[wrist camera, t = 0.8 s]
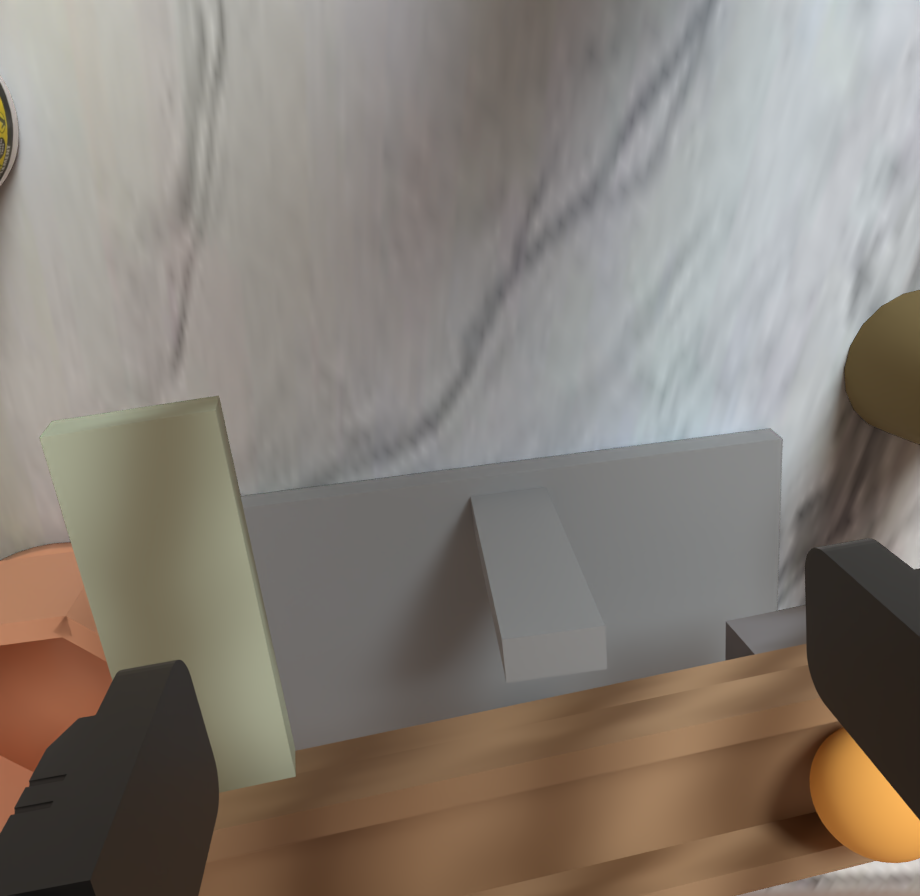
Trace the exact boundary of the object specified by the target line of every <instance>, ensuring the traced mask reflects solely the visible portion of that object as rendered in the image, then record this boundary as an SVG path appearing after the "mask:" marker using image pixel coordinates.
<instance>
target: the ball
mask: <svg viewBox="0 0 920 896" xmlns="http://www.w3.org/2000/svg"><path fill="white" fill-rule="evenodd" d="M810 792H811V797H812V801H813V804H814V807H815V809H816V812H817V814H818V816H819V817H820V819H821V821H822V823H823V824H824V825H825V827H826V828H827V830H828V831H829V832H830V833H831V834H832V835H833V836H834V837H835V838H836V839H837V840H838V841H839V842H840V843H842V844H843V845H844V846H846V847H847V848H849V849H850V850H852V851H853V852H855V853H857V854H859V855H861V856H863V857H866V858H869V859H872V860H875V861H880V862H888V863H901V862H908V861H912V860H916V859H919V858H920V820H919V819H918V818H917V816H916V815H915V814H914V813H913V812H912V810H911V809H910V808H909V807H908V805H907V804H906V803H905V802H904V801H903V799H902V798H901V797H900V796H899V794H898V793H897V792H896V791H895V790H894V788H893V787H892V786H891V785H890V783H889V782H888V781H887V780H886V779H885V777H884V776H883V775H882V774H881V772H880V771H879V770H878V769H877V768H876V766H875V765H874V764H873V763H872V761H871V760H870V759H869V758H868V757H867V755H866V754H865V753H864V752H863V751H862V749H861V748H860V747H859V746H858V744H857V743H856V742H855V741H854V740H853V738H852V737H851V736H850V735H849V733H848V732H847V731H846V730H845V729H844V727H842V728H840V729H838V730H837V731H835V732H834V733H833V734H831V735H830V736H829V737H828V738H827V739H826V740H825V741H824V742H823V743H822V744H821V746H820V747H819V749H818V750H817V752H816V754H815V756H814V759H813V761H812V765H811V770H810Z"/></svg>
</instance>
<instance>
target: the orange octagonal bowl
mask: <svg viewBox="0 0 920 896" xmlns="http://www.w3.org/2000/svg"><path fill="white" fill-rule="evenodd" d="M111 683H112V678H111V674H110V671H109V668H108V664H107V661H106V658H105V654H104V651H103V648H102V644H101V641H100V638H99V634H98V631H97V628H96V624H95V621H94V618H93V614H92V611H91V608H90V604H89V601H88V598H87V594H86V591H85V588H84V584H83V581H82V578H81V574H80V571H79V568H78V564H77V561H76V558H75V554H74V551H73V548H72V544H71V542H67V543H53V544H48V545H43V546H37V547H33V548H30V549H27V550H24V551H21V552H17V553H15V554H13V555H11V556H8V557H6V558H4V559H2V560H0V833H1V831H2V829H3V827H4V826H5V824H6V822H7V820H8V818H9V816H10V815H13V814H14V813H15V809H14V807H15V805H16V804H17V802H18V800H19V798H20V796H21V794H22V793H23V791H24V789H25V787H29V780H30V778H31V776H32V774H33V772H34V771H35V769H36V767H37V765H38V763H39V761H40V760H41V758H42V756H43V754H44V752H45V750H46V749H47V748H48V747H49V746H50V745H51V744H52V743H53V742H54V741H55V740H56V739H57V738H58V737H59V736H60V735H61V734H62V733H63V732H65V731H66V730H67V729H68V728H69V727H70V726H71V725H72V724H73V723H74V722H75V721H76V720H77V719H78V718H82V717H88V716H93V715H96V713H97V711H98V709H99V707H100V705H101V703H102V701H103V699H104V697H105V695H106V693H107V691H108V689H109V687H110V685H111Z"/></svg>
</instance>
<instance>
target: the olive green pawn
mask: <svg viewBox="0 0 920 896" xmlns="http://www.w3.org/2000/svg"><path fill="white" fill-rule="evenodd" d="M844 372H845V389H846V393H847V395H848V398H849V400H850V402H851V405H852V407H853V409H854V411H855V412H856V413H857V414H858V415H859V416H860V417H861V418H862V419H863V420H864V421H865V422H866V423H868V424H869V425H872V426H874V427H876V428H879V429H881V430H883V431H885V432H888V433H891V434H893V435H896V436H898V437H901V438H904V439H906V440H909V441H911V442H914V443H917V444H919V445H920V290H917V291H913V292H909V293H905V294H902V295H901V296H899V297H897V298H895V299H893V300H892V301H890V302H888V303H886V304H885V305H883V306H881V307H880V308H879V309H878V310H877V311H876V312H875V313H874V314H873V315H872V316H871V317H870V318H869V319H868V320H867V321H866V322H865V323H864V324H863V325H862V327H861V329H860V330H859V332H858V334H857V336H856V337H855V339H854V341H853V342H852V344H851V346H850V349H849V353H848V357H847V361H846V365H845V368H844Z"/></svg>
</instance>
